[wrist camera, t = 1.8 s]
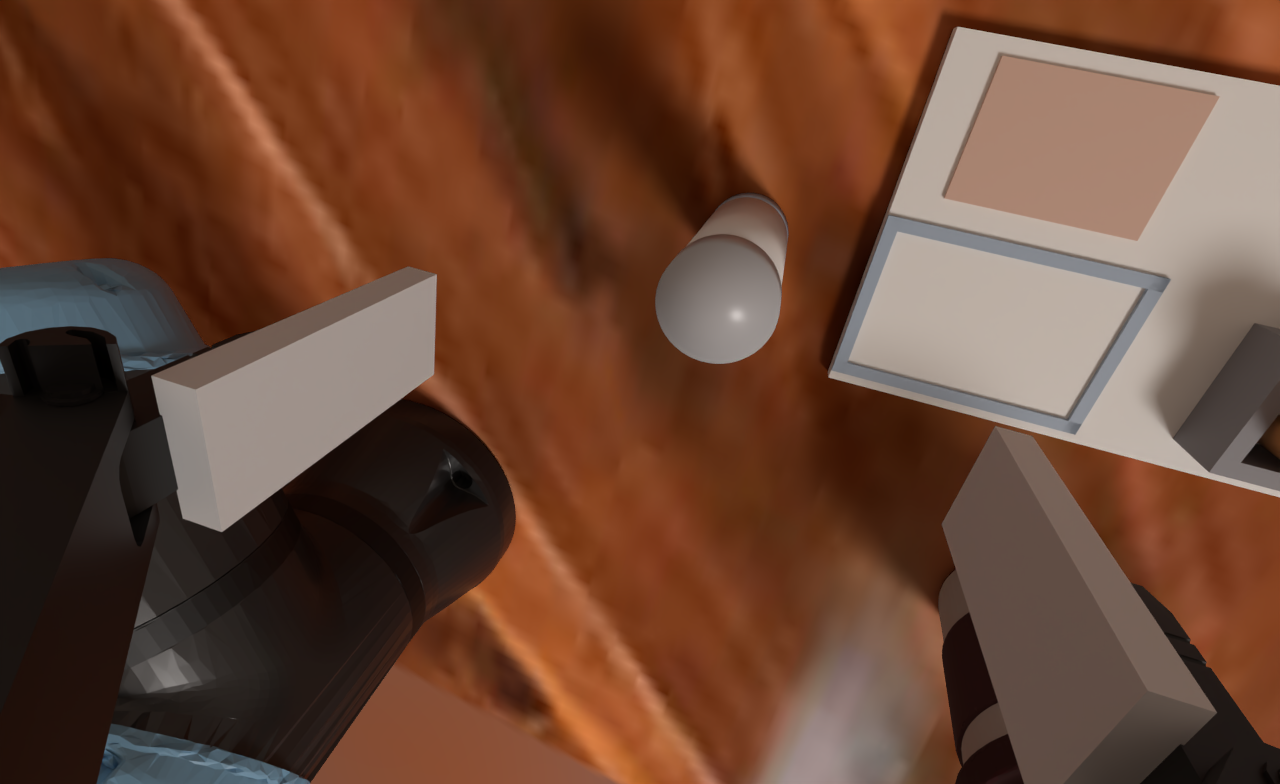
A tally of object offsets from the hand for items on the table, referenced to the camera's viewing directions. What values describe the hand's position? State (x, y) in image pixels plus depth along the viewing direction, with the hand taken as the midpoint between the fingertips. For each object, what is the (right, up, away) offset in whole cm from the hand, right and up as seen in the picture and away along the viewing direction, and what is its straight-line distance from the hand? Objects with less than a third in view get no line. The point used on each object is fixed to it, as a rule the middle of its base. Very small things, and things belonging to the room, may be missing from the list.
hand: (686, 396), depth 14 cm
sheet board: (+21, +5, +13) cm, 25 cm away
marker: (+4, +8, +16) cm, 19 cm away
